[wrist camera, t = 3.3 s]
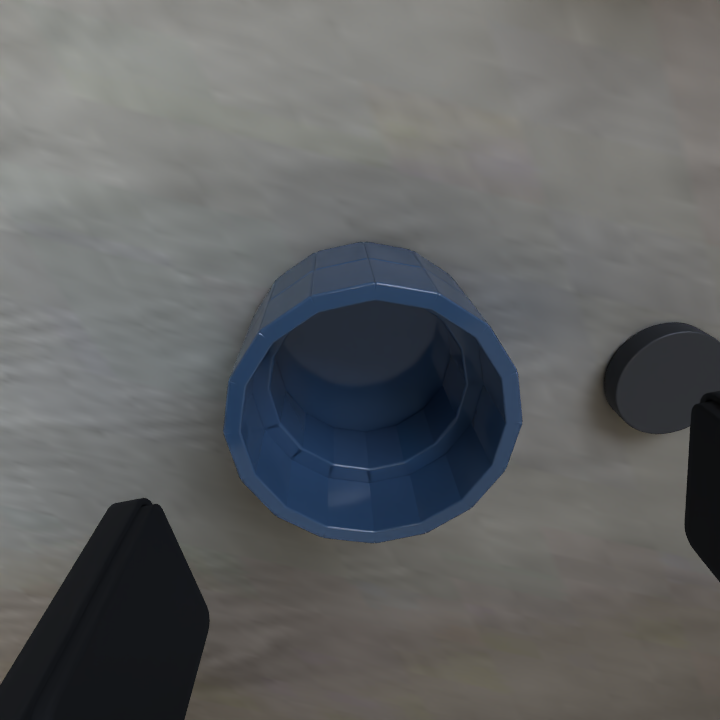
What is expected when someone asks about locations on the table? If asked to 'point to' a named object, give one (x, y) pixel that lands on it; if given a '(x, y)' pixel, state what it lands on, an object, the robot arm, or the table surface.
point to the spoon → (662, 376)
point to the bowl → (370, 397)
